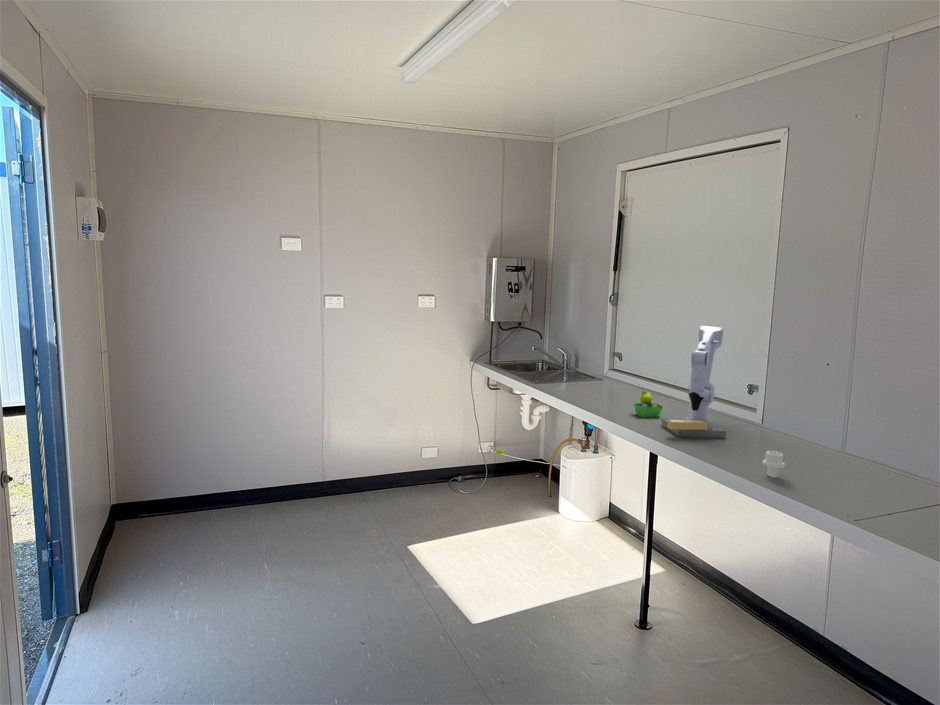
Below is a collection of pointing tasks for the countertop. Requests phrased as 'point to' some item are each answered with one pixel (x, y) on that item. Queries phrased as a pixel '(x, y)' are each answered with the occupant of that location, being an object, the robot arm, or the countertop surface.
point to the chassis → (696, 431)
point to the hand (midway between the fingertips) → (694, 410)
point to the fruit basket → (647, 406)
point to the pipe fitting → (773, 462)
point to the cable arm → (690, 424)
